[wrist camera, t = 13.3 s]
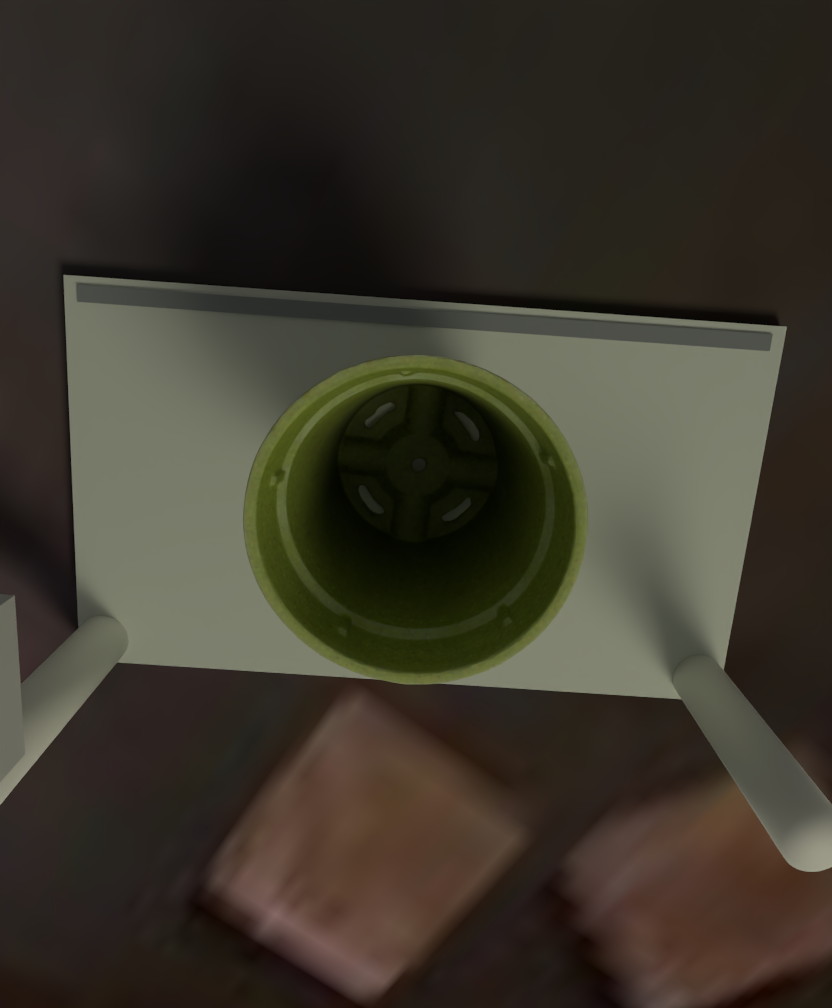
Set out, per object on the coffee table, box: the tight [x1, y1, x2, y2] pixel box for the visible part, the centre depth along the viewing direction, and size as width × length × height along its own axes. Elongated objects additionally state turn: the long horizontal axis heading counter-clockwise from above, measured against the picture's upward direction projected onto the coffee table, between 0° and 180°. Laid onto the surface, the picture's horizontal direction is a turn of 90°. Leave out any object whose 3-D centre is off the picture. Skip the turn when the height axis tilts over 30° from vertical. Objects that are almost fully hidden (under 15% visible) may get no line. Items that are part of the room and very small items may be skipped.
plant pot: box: [243, 354, 588, 684], centre depth 26 cm, size 9×9×9 cm
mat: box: [0, 275, 832, 872], centre depth 26 cm, size 26×15×10 cm, turn 86°
